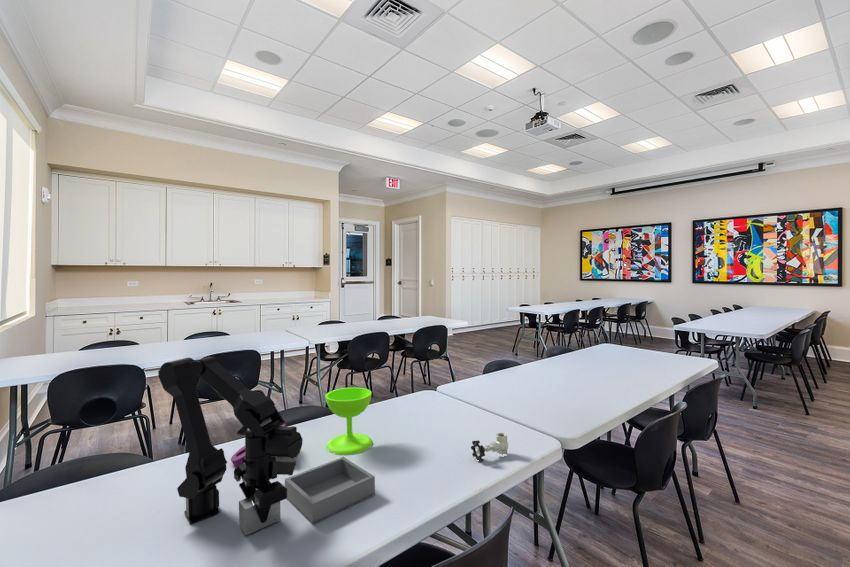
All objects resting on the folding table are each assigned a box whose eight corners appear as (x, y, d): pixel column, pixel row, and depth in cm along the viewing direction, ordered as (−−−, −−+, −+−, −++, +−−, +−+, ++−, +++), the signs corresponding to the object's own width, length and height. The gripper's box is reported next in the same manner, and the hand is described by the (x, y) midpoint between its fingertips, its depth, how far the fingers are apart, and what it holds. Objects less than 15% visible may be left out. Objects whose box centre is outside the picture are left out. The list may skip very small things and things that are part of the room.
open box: (312, 524, 91) (312, 504, 91) (285, 497, 102) (284, 479, 102) (374, 494, 103) (374, 476, 103) (343, 473, 115) (343, 456, 115)
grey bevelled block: (245, 535, 87) (245, 509, 87) (239, 526, 90) (238, 501, 90) (280, 520, 92) (280, 495, 92) (273, 511, 96) (272, 488, 95)
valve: (500, 449, 129) (470, 457, 124) (500, 430, 129) (470, 437, 124) (513, 457, 123) (482, 466, 118) (513, 437, 123) (482, 445, 118)
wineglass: (352, 459, 124) (351, 403, 123) (316, 449, 131) (315, 397, 131) (381, 440, 138) (380, 390, 137) (347, 432, 145) (346, 385, 145)
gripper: (308, 454, 90) (309, 520, 90) (276, 431, 103) (278, 489, 103) (259, 471, 82) (261, 543, 82) (232, 444, 96) (233, 506, 96)
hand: (260, 517), depth 91 cm, fingers closed on grey bevelled block, 4 cm apart
